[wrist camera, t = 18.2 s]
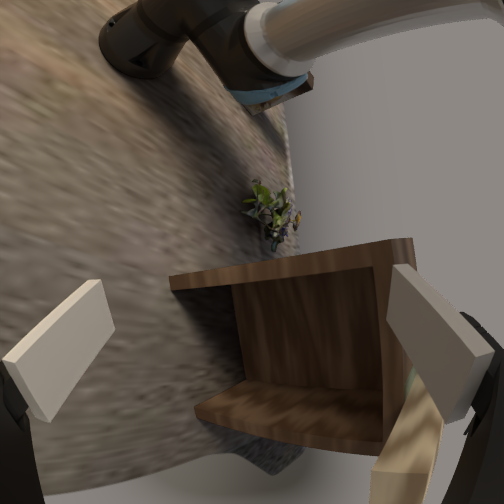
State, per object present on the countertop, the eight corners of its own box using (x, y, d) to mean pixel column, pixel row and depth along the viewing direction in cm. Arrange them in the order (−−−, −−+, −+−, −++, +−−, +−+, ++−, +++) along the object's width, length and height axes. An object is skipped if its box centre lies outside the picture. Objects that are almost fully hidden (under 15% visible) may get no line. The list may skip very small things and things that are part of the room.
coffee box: (228, 89, 60) (289, 56, 50) (235, 76, 63) (292, 46, 53) (252, 117, 65) (313, 90, 56) (258, 103, 68) (315, 77, 59)
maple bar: (368, 505, 15) (420, 510, 12) (371, 470, 15) (428, 473, 12) (424, 377, 33) (451, 375, 31) (424, 350, 34) (452, 348, 31)
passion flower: (243, 233, 65) (286, 260, 59) (214, 215, 56) (261, 244, 50) (271, 189, 65) (317, 211, 58) (246, 164, 56) (297, 186, 49)
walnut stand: (196, 417, 41) (401, 457, 22) (168, 276, 42) (392, 238, 23) (253, 386, 52) (423, 396, 33) (234, 267, 53) (413, 237, 34)
